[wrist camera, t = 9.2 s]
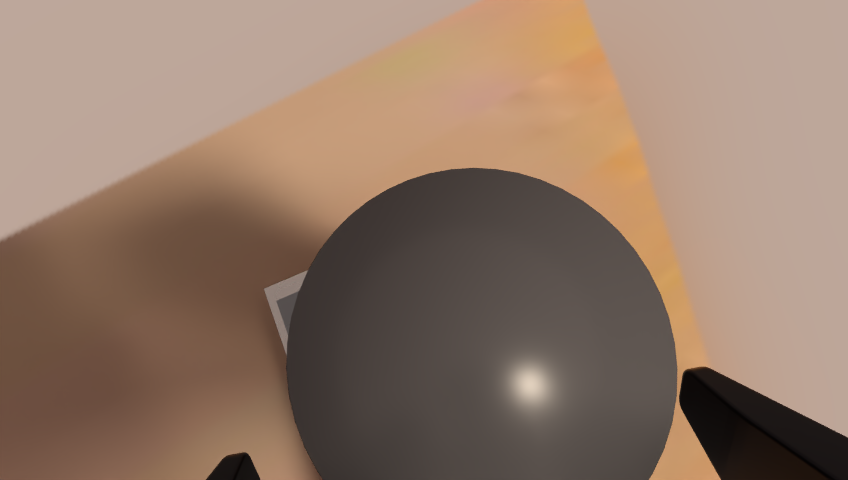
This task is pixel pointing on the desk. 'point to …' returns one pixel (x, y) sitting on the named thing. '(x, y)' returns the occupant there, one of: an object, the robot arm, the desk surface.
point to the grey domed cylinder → (480, 339)
